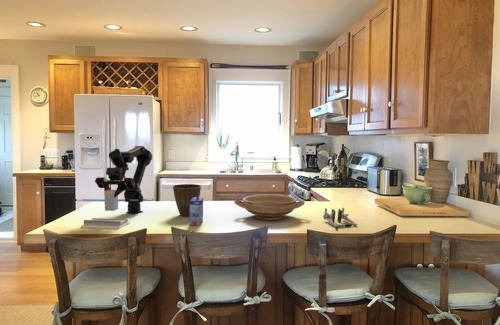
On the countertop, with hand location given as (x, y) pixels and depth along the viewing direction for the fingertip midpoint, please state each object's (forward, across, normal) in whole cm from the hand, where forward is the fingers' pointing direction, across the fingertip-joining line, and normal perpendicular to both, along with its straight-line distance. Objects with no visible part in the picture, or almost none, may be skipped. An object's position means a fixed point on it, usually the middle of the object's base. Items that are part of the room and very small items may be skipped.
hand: (109, 196), depth 176 cm
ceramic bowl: (-7, +76, +27) cm, 81 cm away
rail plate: (+11, -1, +8) cm, 14 cm away
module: (+4, 0, +6) cm, 7 cm away
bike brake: (+2, +111, +18) cm, 113 cm away
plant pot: (-7, +31, +27) cm, 42 cm away
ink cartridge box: (+6, +41, +14) cm, 44 cm away
